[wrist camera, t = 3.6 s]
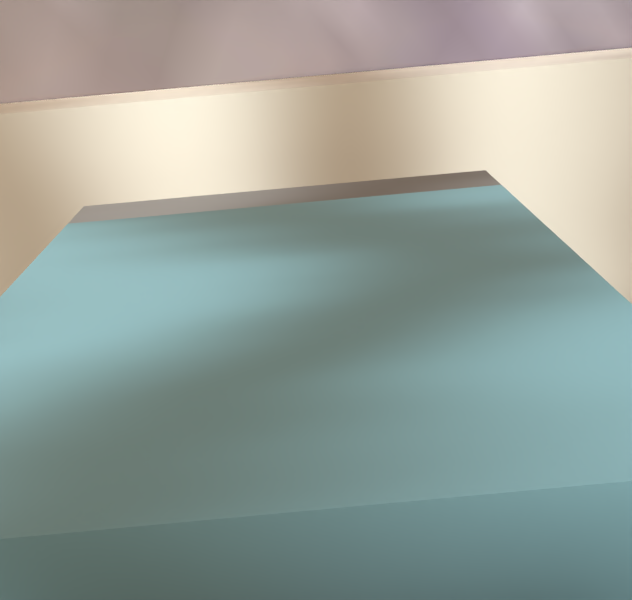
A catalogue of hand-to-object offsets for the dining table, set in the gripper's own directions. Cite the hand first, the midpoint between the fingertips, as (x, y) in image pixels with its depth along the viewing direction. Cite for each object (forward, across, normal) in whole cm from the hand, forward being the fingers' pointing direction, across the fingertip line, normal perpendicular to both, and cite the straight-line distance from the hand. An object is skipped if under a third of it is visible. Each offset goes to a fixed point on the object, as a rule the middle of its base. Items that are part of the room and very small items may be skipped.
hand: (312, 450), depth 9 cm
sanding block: (+1, 0, 0) cm, 1 cm away
